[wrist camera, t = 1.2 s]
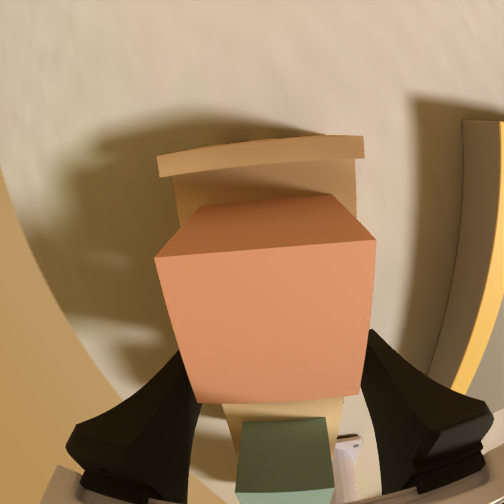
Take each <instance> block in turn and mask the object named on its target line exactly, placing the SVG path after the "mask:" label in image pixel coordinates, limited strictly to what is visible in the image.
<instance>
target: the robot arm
mask: <svg viewBox="0 0 504 504" xmlns="http://www.w3.org/2000/svg"><path fill="white" fill-rule="evenodd" d="M360 386H361V389H362V392H363V395H364V398H365V401H366V404H367V407H368V410H369V413H370V416H371V419H372V423H373V427H374V431H375V437H376V442H377V449H378V455H379V463H380V472H381V484H382V496H378V497H373V498H368V499H363V500H359V495H358V488H357V482H356V476H355V470H354V466H355V463H356V460H357V457H358V454H359V451H360V448H361V445H362V442H363V440H362V437H361V436H355V437H349V438H342V439H337V440H336V445H335V450H334V455H333V460H332V467H333V475H334V484H335V489H334V492H333V495H332V498H331V501H330V504H502V503H503V502H504V444H502V445H500V446H498V447H496V448H494V449H492V450H490V451H489V452H487V453H486V454H484V455H482V453H481V450H482V449H483V445H482V443H481V440H482V439H483V437H484V436H485V435H486V433H487V432H488V431H489V429H490V428H491V426H492V424H493V421H494V417H493V415H492V413H491V411H490V409H489V407H488V406H487V404H486V403H485V401H482V400H479V399H475V398H472V397H469V396H466V395H463V394H461V393H458V392H456V391H453V390H451V389H449V388H447V387H445V386H443V385H441V384H439V383H438V382H436V381H434V380H432V379H431V378H429V377H428V376H426V375H425V374H423V373H422V372H420V371H419V370H417V369H416V368H415V367H413V366H412V365H411V364H410V363H408V362H407V361H406V360H405V359H403V358H402V357H401V356H400V355H399V354H398V353H397V352H396V351H395V350H394V349H392V348H391V347H390V346H389V345H388V344H387V343H386V342H385V341H384V340H383V339H382V338H381V337H380V336H379V335H378V334H377V333H376V332H375V331H374V330H373V329H370V330H369V332H368V340H367V347H366V354H365V360H364V366H363V372H362V378H361V384H360ZM201 405H202V403H197V400H196V397H195V394H194V392H193V389H192V386H191V383H190V380H189V377H188V374H187V371H186V368H185V365H184V362H183V359H182V356H181V353H180V350H178V351H177V352H176V354H175V355H174V356H173V357H172V358H171V359H170V360H169V361H168V363H167V364H166V365H165V366H164V367H163V368H162V369H161V370H160V371H159V372H158V373H157V374H156V375H155V376H154V377H153V378H152V379H151V380H150V381H149V382H148V383H147V384H146V385H145V386H143V387H142V388H141V389H140V390H139V391H137V392H136V393H135V394H133V395H132V396H131V397H129V398H128V399H126V400H125V401H123V402H122V403H120V404H119V405H117V406H116V407H114V408H112V409H111V410H109V411H107V412H105V413H103V414H101V415H99V416H97V417H94V418H92V419H90V420H87V421H84V422H82V423H79V424H77V425H76V426H75V428H74V430H73V432H72V434H71V436H70V438H69V440H68V442H67V444H66V449H67V452H68V453H69V455H70V456H71V457H72V458H73V459H74V460H75V461H76V462H77V463H78V464H79V465H80V466H81V467H82V468H83V469H84V470H85V471H84V474H83V476H82V475H81V474H79V473H78V472H75V471H73V470H70V469H67V468H64V467H62V466H60V465H58V466H57V467H56V469H55V471H54V473H53V475H52V478H51V480H50V482H49V484H48V486H47V488H46V491H45V493H44V495H43V497H42V499H41V502H40V504H187V493H188V476H189V466H190V456H191V449H192V441H193V436H194V431H195V427H196V424H197V420H198V416H199V413H200V409H201Z"/></svg>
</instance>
